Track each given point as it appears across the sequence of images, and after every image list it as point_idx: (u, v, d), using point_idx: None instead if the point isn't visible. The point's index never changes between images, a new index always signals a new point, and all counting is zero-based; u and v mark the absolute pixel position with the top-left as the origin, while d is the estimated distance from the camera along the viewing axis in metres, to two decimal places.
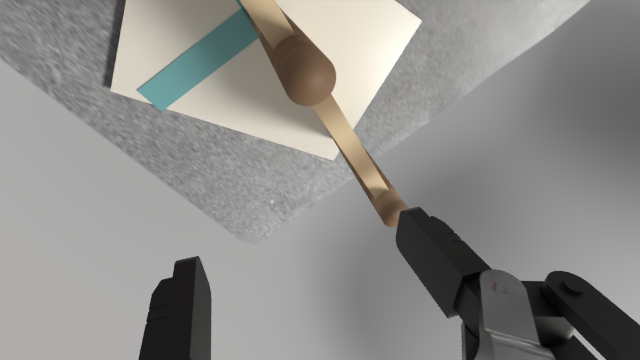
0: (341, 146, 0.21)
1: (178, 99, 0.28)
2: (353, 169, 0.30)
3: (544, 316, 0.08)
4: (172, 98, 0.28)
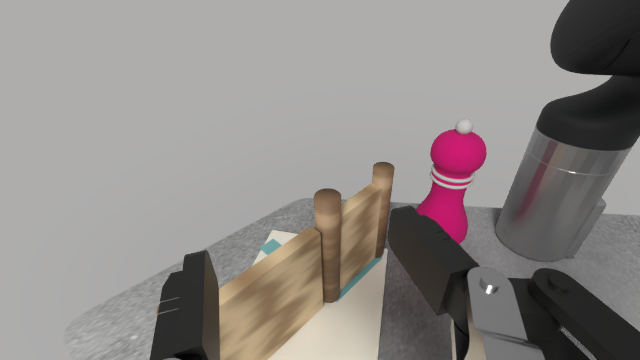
0: (269, 255, 0.26)
1: (267, 255, 0.42)
2: None
3: (530, 313, 0.08)
4: (267, 253, 0.43)
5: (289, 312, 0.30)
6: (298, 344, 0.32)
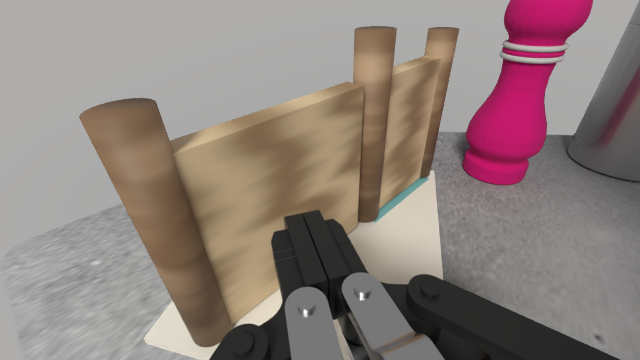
0: (289, 101, 0.17)
1: None
2: None
3: None
4: None
5: None
6: None
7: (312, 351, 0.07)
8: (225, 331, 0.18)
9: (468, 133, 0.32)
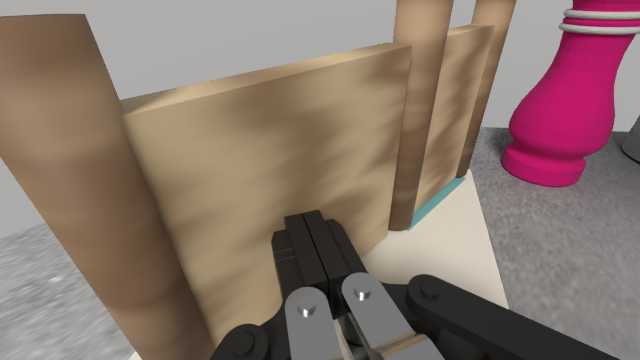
0: (312, 59, 0.12)
1: None
2: None
3: None
4: None
5: (340, 220, 0.15)
6: None
7: (312, 351, 0.07)
8: None
9: (513, 125, 0.27)
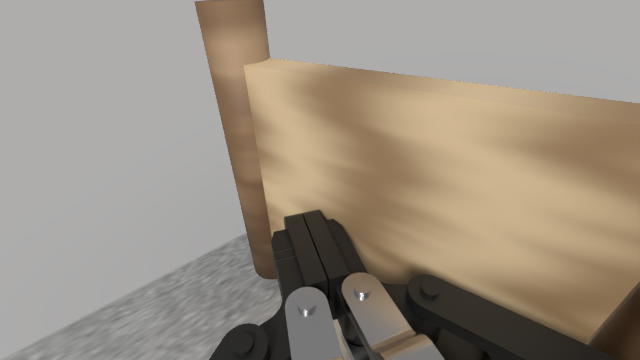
0: (456, 82, 0.08)
1: None
2: None
3: None
4: None
5: None
6: None
7: (312, 351, 0.07)
8: (265, 273, 0.17)
9: None
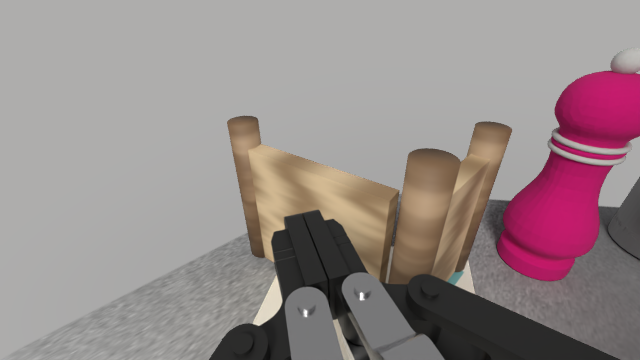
0: (330, 168, 0.21)
1: None
2: None
3: None
4: None
5: None
6: None
7: (312, 351, 0.07)
8: (257, 253, 0.30)
9: (507, 221, 0.29)
